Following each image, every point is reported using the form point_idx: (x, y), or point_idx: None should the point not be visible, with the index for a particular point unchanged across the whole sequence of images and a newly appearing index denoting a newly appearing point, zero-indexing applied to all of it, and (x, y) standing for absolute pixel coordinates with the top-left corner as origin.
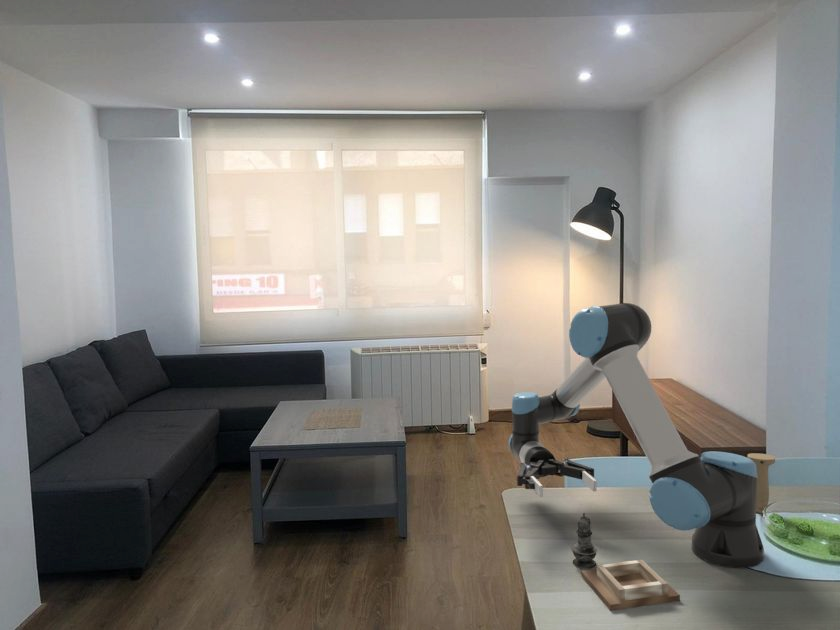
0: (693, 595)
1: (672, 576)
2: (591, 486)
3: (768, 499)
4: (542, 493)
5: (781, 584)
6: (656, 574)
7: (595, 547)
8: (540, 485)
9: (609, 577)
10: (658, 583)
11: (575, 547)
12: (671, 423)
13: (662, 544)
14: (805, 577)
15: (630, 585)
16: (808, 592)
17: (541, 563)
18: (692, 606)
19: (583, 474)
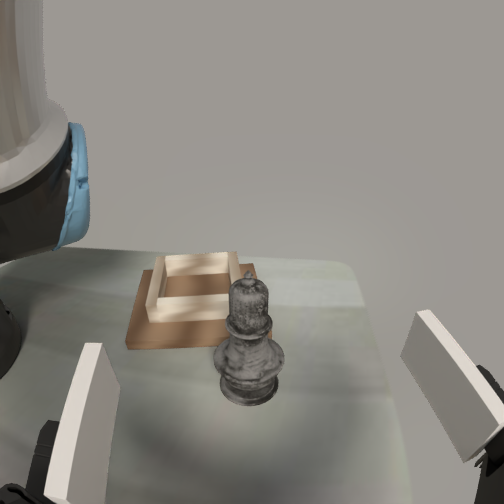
0: (118, 284)
1: (104, 321)
2: (111, 394)
3: None
4: (405, 344)
5: (9, 286)
6: (155, 271)
7: (218, 354)
8: (426, 313)
9: (237, 271)
10: (169, 257)
11: (274, 351)
12: None
13: (26, 413)
14: None
15: (213, 256)
16: (7, 274)
17: (354, 387)
18: (139, 269)
19: (77, 488)
